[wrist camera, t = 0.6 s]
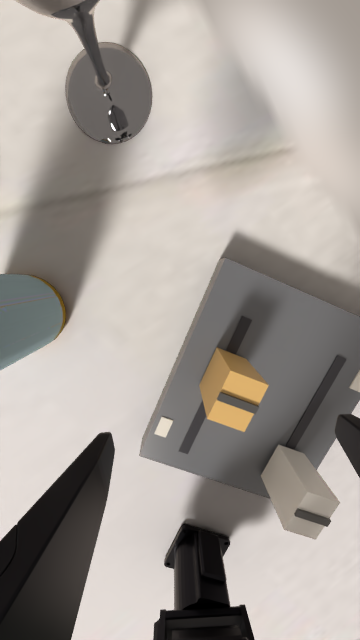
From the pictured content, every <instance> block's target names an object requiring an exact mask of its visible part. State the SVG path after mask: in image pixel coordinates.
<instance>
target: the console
mask: <svg viewBox="0 0 360 640" xmlns="http://www.w3.org/2000/svg"><path fill="white" fill-rule="evenodd" d="M216 348H220V349H222V350H225V351H227V352H230V353H232V354H235V355H237V356H240V357H243V358H245V359H247V360H248V362H249V363H250V364H251V365H252V366H253V367H254V368H255V370H256V371H257V372H258V373H259V374H260V375H261V377H262V378H263V379H264V380H265V381H266V382H267V384H268V385H269V386H268V388H267V390H266V392H265V394H264V396H263V398H262V400H261V401H260V403H259V405H258V406H259V409H258V411H257V413H256V414H254V415H253V417H252V419H251V421H250V422H249V424H248V426H247V428H246V430H245V432H243V431H240V430H237V429H234V428H231V427H229V426H226V425H223V424H220V423H217V422H215V421H212V420H209V419H207V416H206V412H205V408H204V404H203V399H202V395H201V391H200V386H199V385H200V382H201V380H202V378H203V376H204V374H205V372H206V369H207V367H208V365H209V363H210V361H211V359H212V356H213V354H214V352H215V350H216ZM359 400H360V316H357V315H355V314H353V313H351V312H348V311H346V310H344V309H341V308H339V307H337V306H335V305H332V304H330V303H328V302H326V301H323V300H321V299H319V298H316V297H314V296H312V295H310V294H307V293H305V292H303V291H301V290H298V289H296V288H294V287H291V286H289V285H287V284H285V283H282V282H280V281H278V280H275V279H273V278H271V277H269V276H266V275H264V274H262V273H260V272H257V271H255V270H253V269H250V268H248V267H246V266H244V265H241V264H239V263H237V262H235V261H232V260H230V259H228V258H222V259H220V260H219V262H218V264H217V266H216V269H215V271H214V273H213V276H212V278H211V280H210V283H209V285H208V287H207V290H206V292H205V294H204V297H203V299H202V301H201V304H200V306H199V308H198V311H197V313H196V315H195V318H194V320H193V322H192V324H191V327H190V329H189V331H188V334H187V336H186V338H185V341H184V343H183V345H182V348H181V350H180V352H179V355H178V357H177V359H176V362H175V364H174V366H173V369H172V371H171V373H170V375H169V378H168V380H167V382H166V385H165V387H164V389H163V392H162V394H161V396H160V399H159V401H158V403H157V406H156V408H155V410H154V413H153V415H152V417H151V420H150V422H149V424H148V427H147V429H146V431H145V433H144V436H143V438H142V443H141V449H140V454H139V456H141V457H144V458H147V459H150V460H153V461H156V462H159V463H163V464H166V465H169V466H172V467H175V468H178V469H181V470H184V471H187V472H190V473H193V474H196V475H199V476H202V477H206V478H209V479H212V480H215V481H218V482H221V483H224V484H227V485H230V486H233V487H236V488H239V489H242V490H245V491H249V492H252V493H255V494H258V495H261V496H264V497H267V498H270V496H269V494H268V491H267V489H266V487H265V484H264V482H263V480H262V478H261V474H262V473H263V471H264V469H265V467H266V466H267V464H268V462H269V460H270V458H271V457H272V455H273V453H274V451H275V450H276V448H277V446H278V445H281V446H284V447H287V448H290V449H293V450H295V451H298V452H301V453H304V454H305V455H306V457H307V458H308V459H309V461H310V462H311V464H312V465H313V466H314V468H315V469H316V470H317V468H318V467H319V465H320V463H321V462H322V460H323V459H324V457H325V455H326V454H327V452H328V450H329V449H330V447H331V445H332V444H333V442H334V441H335V439H336V435H335V426H336V421H337V417H338V415H340V414H351V413H352V411H353V410H354V408H355V406H356V405H357V403H358V402H359ZM270 499H271V498H270Z"/></svg>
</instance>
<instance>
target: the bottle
mask: <svg viewBox="0 0 360 640" xmlns="http://www.w3.org/2000/svg"><path fill="white" fill-rule="evenodd" d="M65 320H66V311H65V306H64V303H63V300H62V298H61V296H60V295H59V293H58V292H57V291H56V289H55V288H54V287H53V286H51V285H50V284H49V283H48V282H46V281H45V280H43V279H40V278H38V277H35V276H32V275H20V274H0V370H2V369H4V368H6V367H7V366H9V365H11V364H13V363H15V362H16V361H18V360H20V359H22V358H24V357H26V356H27V355H29V354H31V353H33V352H35V351H36V350H38V349H40V348H42V347H44V346H45V345H47V344H48V343H50V342H52V341H53V340H55V339H56V338H57V337H58V335H59V334H60V333H61V331H62V330H63V327H64V324H65Z"/></svg>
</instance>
